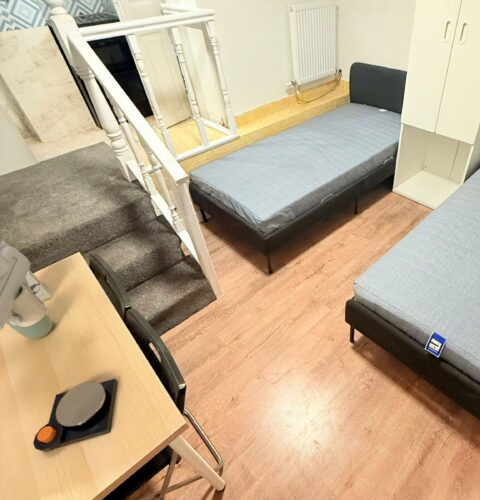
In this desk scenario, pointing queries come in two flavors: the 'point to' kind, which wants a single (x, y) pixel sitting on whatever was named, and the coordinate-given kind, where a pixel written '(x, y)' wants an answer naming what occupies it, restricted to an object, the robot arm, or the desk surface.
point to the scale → (85, 431)
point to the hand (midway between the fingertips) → (24, 308)
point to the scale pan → (80, 404)
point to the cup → (34, 328)
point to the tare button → (46, 434)
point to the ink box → (37, 287)
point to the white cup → (28, 307)
